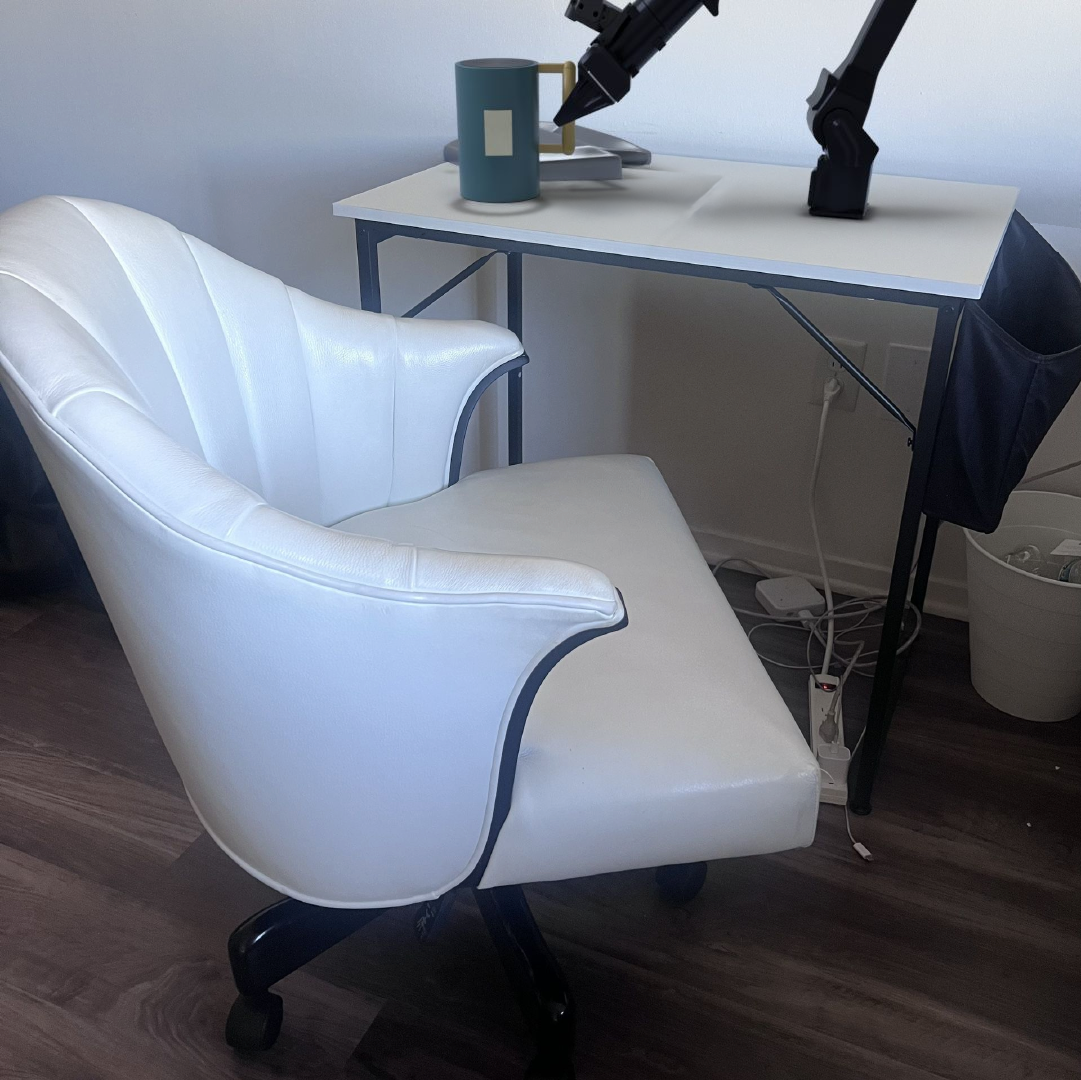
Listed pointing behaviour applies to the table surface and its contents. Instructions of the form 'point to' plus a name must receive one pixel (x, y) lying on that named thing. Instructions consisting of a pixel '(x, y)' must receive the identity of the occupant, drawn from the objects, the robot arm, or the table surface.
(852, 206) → the robot arm
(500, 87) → the teal coffee mug
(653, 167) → the table surface
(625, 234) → the table surface
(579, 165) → the emblem
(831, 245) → the table surface
